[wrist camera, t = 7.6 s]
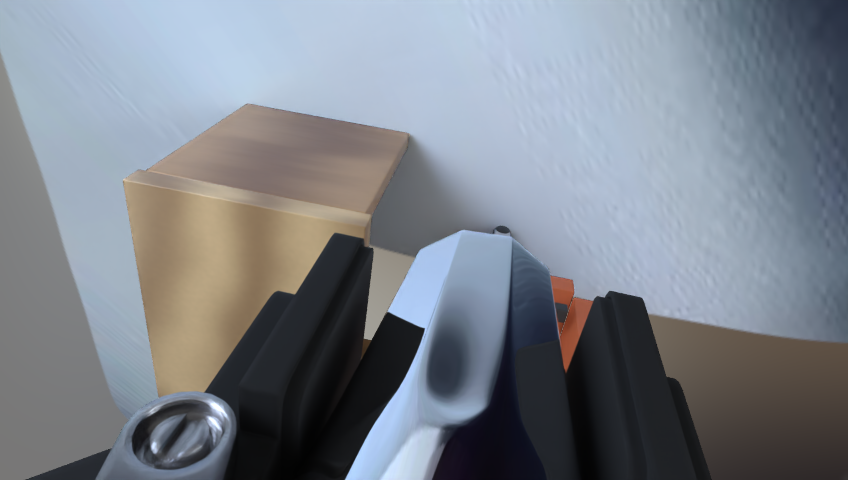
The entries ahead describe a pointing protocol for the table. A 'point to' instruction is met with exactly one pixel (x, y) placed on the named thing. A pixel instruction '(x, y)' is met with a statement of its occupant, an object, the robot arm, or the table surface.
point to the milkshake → (458, 376)
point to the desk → (245, 226)
